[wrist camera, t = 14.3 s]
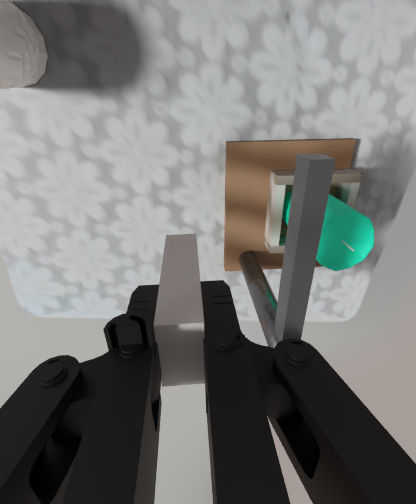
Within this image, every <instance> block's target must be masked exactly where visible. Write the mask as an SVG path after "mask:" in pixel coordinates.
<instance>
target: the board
mask: <svg viewBox="0 0 416 504" xmlns="http://www.w3.org/2000/svg"><path fill="white" fill-rule="evenodd" d="M355 144H356V139H351V138H347V139H306V140H266V141H226V175H225V244H224V268H225V271H242V269H241V266H240V263H239V257H240V255H241V254H242V253H244V252H247V251H250V252H253V253H254V254H255V256H256V258H257V260H258V262H259V264H260V266H261V268H262V269H281V268H282V265H283V257H284V250H285V242H286V234H287V227H288V226H287V224H286V223H285V222H284V220H283V219H282V213H283V204H284V198H285V196H286V194H287V193H288V192H290V191H291V190H292V188H293V180H294V173H295V165H296V157H297V154H319V153H320V154H323V155H326V156H329V157H332V158H334V159H336V160H335V165H334V170H333V175H332V180H331V186H330V191H329V194H331V195H332V196H334V197H335V198H337V199H339V200H340V201H342V202H344V203H345V204H347V205H348V206H350V207H352V208H353V209H354V207H355V203H356V199H357V194H358V190H359V186H360V182H361V178H362V174H363V173H360V172H358V171H355V170H353V169H350V166H351V162H352V157H353V153H354V148H355ZM319 266H322V265H320V263H319V262H318V261H317V260H316V263H315V267H319Z"/></svg>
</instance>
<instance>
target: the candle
mask: <svg viewBox="0 0 416 504" xmlns="http://www.w3.org/2000/svg"><path fill="white" fill-rule="evenodd" d="M291 196H292V190H291V191H290V192H288V193H287V194H286V196H285V198H284V204H283V213H282V219H283V220H284V222H285V223H286V224H287V226H288V219H289V211H290V203H291ZM373 246H374V228H373V225H372V223H371V220H370V218H368V217H366V216H365V215H363V214H361V213H360V212H358V211H357V210H355V209H353V208H352V207H350V206H348V205H347V204H345V203H344V202H342V201H340V200H339V199H337V198H335V197H334V196H332V195H331V194H329V196H328V201H327V206H326V211H325V217H324V222H323V227H322V232H321V237H320V242H319V247H318V253H317V258H316V260H317V261H318V262H319V263H320V265H322V266H324V267H327V268H329V269H331V270H334V271H338V270H342V269H346V268H350V267H352V266H354V265H355V264H357V263H359V262H361V261H362V260H364V259H365V258H366V256H367V255H368V253H369V252H370V250H371V249H372V247H373Z"/></svg>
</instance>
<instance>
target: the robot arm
mask: <svg viewBox="0 0 416 504" xmlns="http://www.w3.org/2000/svg"><path fill="white" fill-rule="evenodd" d="M104 333H105V337H106V341H107V345H108V349H109V351H108V352H107V353H105V354H104V355H102V356H100V357H97V358H95V359H91V360H88V361H85V362H82V363H79V362H78V361H77V359H76V358H74V357H71V356H69V355H65V356H64V355H62V356H57V357H53V358H50V359H48V360H46V361H45V362H43V363H41V364H40V365H39V366H37V367H36V368H35V369H34V370H33V371H32V372H31V373H30V374H29V376H28V377H27V378H26V379H25V380H24V381H23V383H22V384H21V385H20V386H19V387H18V388H17V390H16V391H15V392H14V393H13V394H12V395H11V397H10V398H9V399H8V400H7V401H6V402H5V404H4V405H3V406H2V407H1V408H0V504H61V503H62V504H154V497H155V483H156V469H157V456H158V442H159V430H160V416H161V395H160V387H161V382H162V387H163V386H176V385H187V384H201V383H205V388H206V413H207V422H208V435H209V436H208V437H209V450H210V465H211V479H212V493H213V504H290V501H289V497H288V493H287V489H286V486H285V482H284V478H283V475H282V471H281V467H280V463H279V459H278V456H277V452H276V448H275V444H274V440H273V437H272V434H271V429H270V426H269V422H268V418H269V420H270V422H271V424H272V426H273V428H274V430H275V432H276V434H277V435H278V437H279V439H280V441H281V443H282V445H283V447H284V449H285V451H286V453H287V455H288V457H289V459H290V460H291V462H292V464H293V466H294V468H295V470H296V472H297V474H298V476H299V478H300V480H301V482H302V483H303V485H304V487H305V489H306V491H307V493H308V495H309V497H310V499H311V501H312V502H313V504H416V464H415V462H414V461H413V460H412V459H411V458H410V457H409V456H408V455H407V453H406V452H405V451H404V450H403V449H402V448H401V446H400V445H399V444H398V443H397V442H396V441H395V439H394V438H393V437H392V436H391V435H390V434H389V433H388V431H387V430H386V429H385V428H384V427H383V426H382V425H381V423H380V422H379V421H378V420H377V419H376V418H375V416H374V415H373V414H372V413H371V412H370V411H369V410H368V408H367V407H366V406H365V405H364V404H363V403H362V402H361V400H360V399H359V398H358V397H357V396H356V395H355V393H354V392H353V391H352V390H351V389H350V388H349V387H348V385H347V384H346V383H345V382H344V381H343V380H342V379H341V377H340V376H339V375H338V374H337V373H336V372H335V370H334V369H333V368H332V367H331V366H330V365H329V363H328V362H327V361H326V360H325V359H324V358H323V357H322V355H321V354H320V353H319V352H318V351H317V350H316V349H315V348H314V347H313V346H311V345H310V344H309V343H307V342H305V341H302V340H298V339H293V338H292V339H284V340H282V341H280V342H278V343H277V345H276V346H275V347H274V348H272V347H267V346H262V345H258V344H255V343H253V342H251V341H249V340H248V339H247V338H246V337H245V336H244V335H243V334H242V332H241V330H240V326H239V322H238V318H237V314H236V311H235V307H234V304H233V299H232V295H231V291H230V287H229V286H228V285H227V284H226V283H225V282H224V281H223V280H219V281H201V282H200V273H199V262H198V251H197V240H196V234H182V235H166V241H165V248H164V255H163V262H162V270H161V277H160V284H159V285H143V286H138V287H137V288H136V290H135V291H134V292H133V293H132V295H131V298H130V302H129V305H128V309H127V312H126V314H122V315H119V316H117V317H115V318H113V319H112V320H111V321H109V322H108V323H107V325H106V326H105V328H104ZM267 416H268V418H267Z"/></svg>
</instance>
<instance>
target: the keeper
mask: <svg viewBox="0 0 416 504" xmlns="http://www.w3.org/2000/svg"><path fill="white" fill-rule="evenodd" d="M335 160H336V159H334V158H332V157H329V156H326V155H323V154H320V153H319V154H297V157H296V165H295V173H294V180H293V188H292V196H291V203H290V211H289V219H288V227H287V234H286V242H285V250H284V257H283V265H282V273H281V281H280V288H279V296H278V302H277V300H276V298H275V296H274V294H273V292H272V290H271V287H270V285H269V283H268V281H267V279H266V277H265V275H264V273H263V270H262V268H261V266H260V264H259V262H258V260H257V258H256V256H255V254H254V253H253V252H250V251H247V252H244V253H242V254H241V255H240V257H239V263H240V266H241V269H242V272H243V275H244V277H245V280H246V283H247V286H248V289H249V292H250V295H251V298H252V300H253V303H254V306H255V309H256V312H257V315H258V318H259V321H260V323H261V326H262V329H263V332H264V335H265V338H266V341H267V344H268V347H272V348H274V347H275V346H276V345H277V343H278V342H280V341H282V340H284V339H292V338H293V339H298V340H301V335H302V330H303V325H304V320H305V314H306V309H307V304H308V299H309V294H310V289H311V284H312V278H313V273H314V268H315V263H316V258H317V253H318V247H319V242H320V237H321V232H322V227H323V222H324V217H325V211H326V206H327V201H328V196H329V191H330V186H331V180H332V175H333V170H334V165H335Z"/></svg>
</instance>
